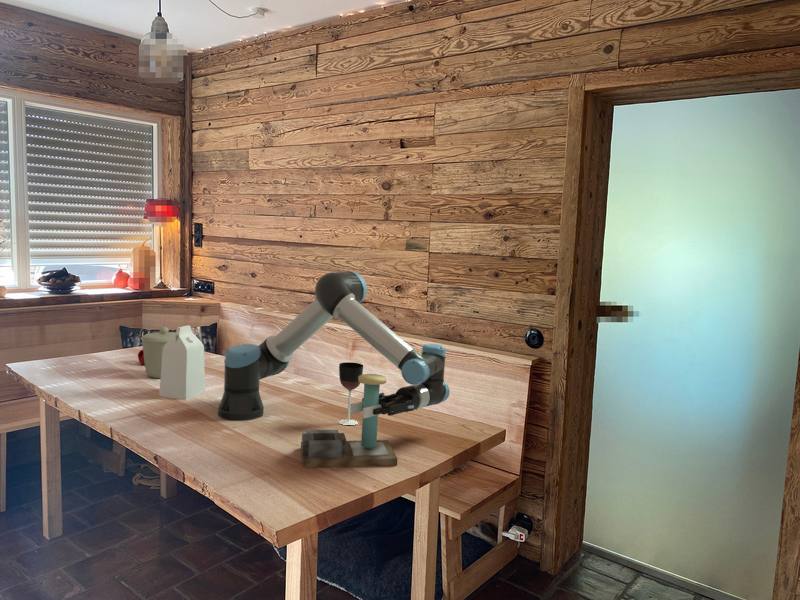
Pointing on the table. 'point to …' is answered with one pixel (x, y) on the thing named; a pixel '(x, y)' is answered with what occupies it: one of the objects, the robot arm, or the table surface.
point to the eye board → (352, 459)
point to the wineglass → (349, 383)
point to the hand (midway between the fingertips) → (357, 411)
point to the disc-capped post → (370, 399)
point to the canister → (155, 350)
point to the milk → (182, 366)
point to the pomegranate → (141, 357)
